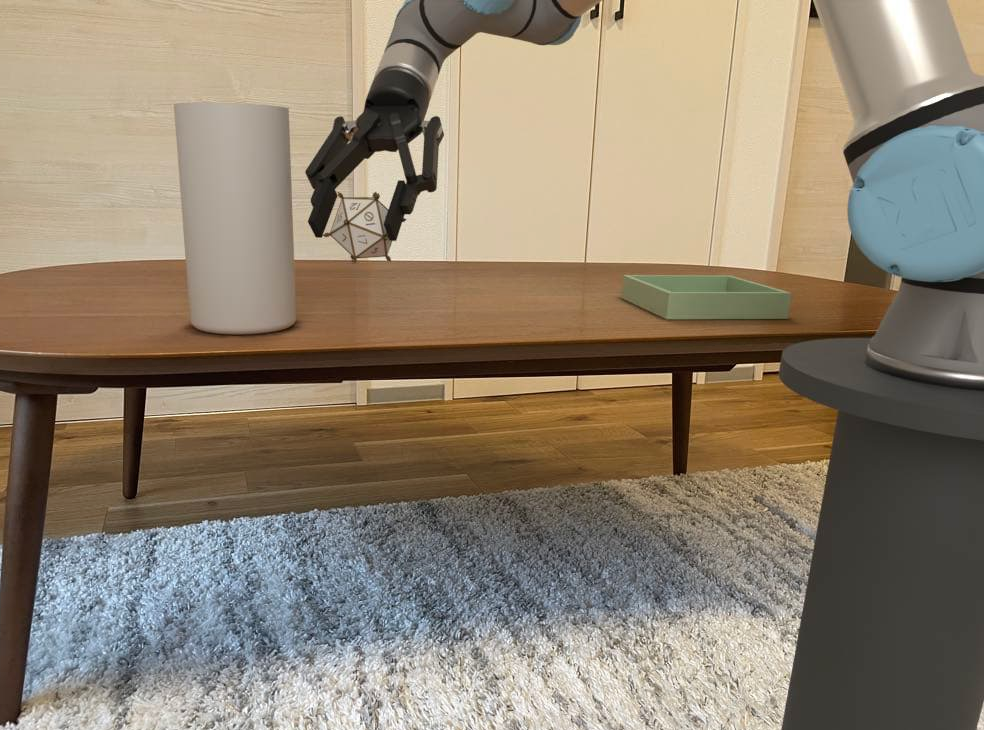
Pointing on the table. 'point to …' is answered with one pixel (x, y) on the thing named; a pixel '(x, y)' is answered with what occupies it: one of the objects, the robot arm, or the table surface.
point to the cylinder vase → (237, 216)
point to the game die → (361, 227)
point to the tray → (705, 297)
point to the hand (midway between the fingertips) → (351, 231)
